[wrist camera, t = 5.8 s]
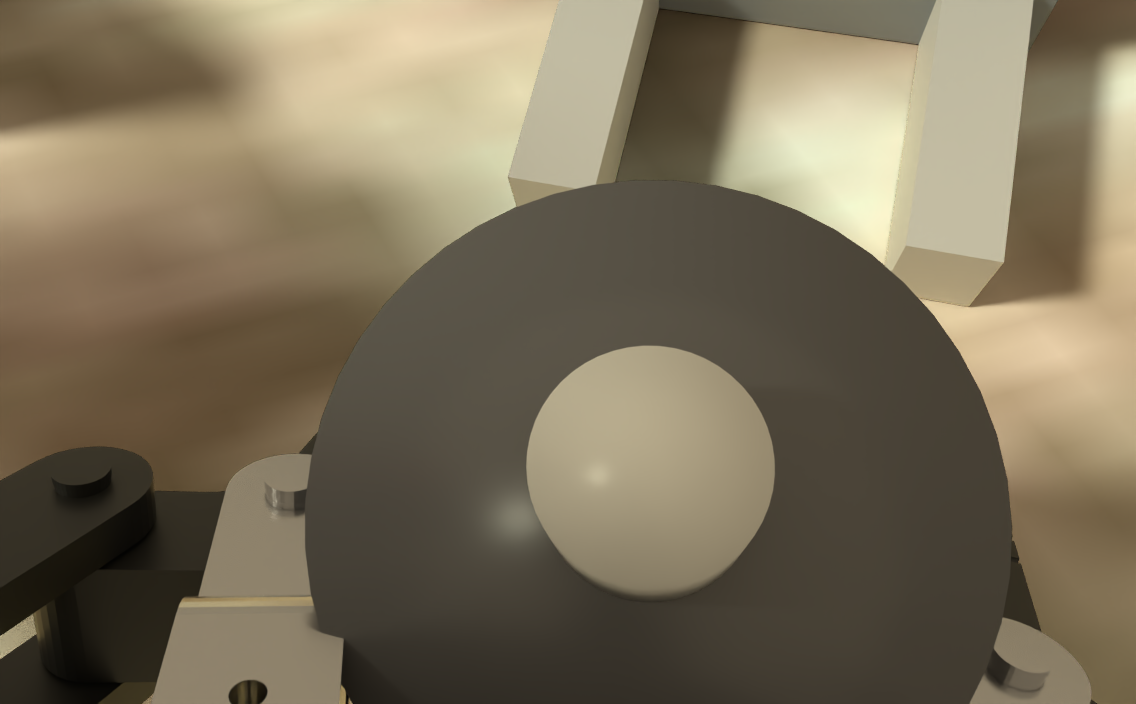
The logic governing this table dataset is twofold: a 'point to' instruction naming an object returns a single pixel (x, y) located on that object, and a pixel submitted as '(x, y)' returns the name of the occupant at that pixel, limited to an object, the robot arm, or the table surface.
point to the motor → (841, 5)
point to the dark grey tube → (657, 469)
